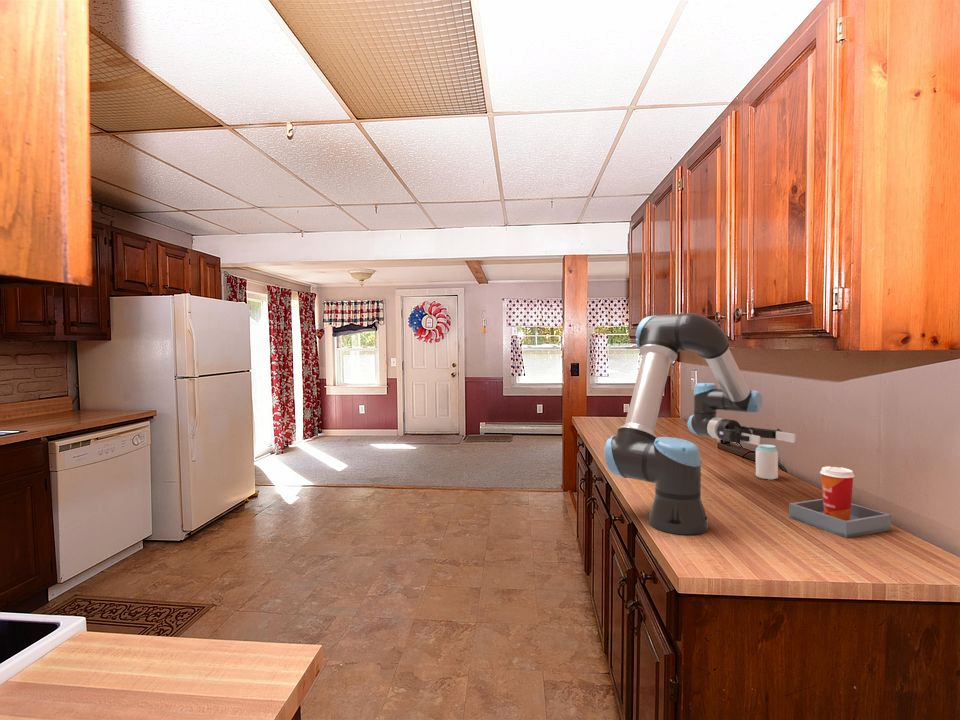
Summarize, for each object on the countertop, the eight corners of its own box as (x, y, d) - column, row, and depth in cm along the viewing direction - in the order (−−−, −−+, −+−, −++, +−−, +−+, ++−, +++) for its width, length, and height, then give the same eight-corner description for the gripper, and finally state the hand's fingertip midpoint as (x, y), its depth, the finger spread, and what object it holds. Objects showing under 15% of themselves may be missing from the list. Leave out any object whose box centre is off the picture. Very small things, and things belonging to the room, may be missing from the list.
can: (771, 481, 175) (771, 448, 175) (751, 477, 181) (751, 445, 181) (782, 478, 179) (781, 446, 178) (762, 474, 185) (762, 443, 184)
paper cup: (818, 513, 139) (818, 464, 139) (852, 518, 135) (852, 467, 135) (821, 522, 132) (821, 471, 132) (856, 527, 129) (856, 474, 128)
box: (846, 538, 124) (846, 522, 124) (789, 517, 139) (789, 503, 139) (891, 529, 128) (891, 514, 128) (831, 510, 144) (831, 497, 144)
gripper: (753, 438, 174) (808, 449, 153) (694, 442, 167) (744, 454, 146) (753, 417, 174) (808, 425, 153) (694, 420, 167) (744, 429, 146)
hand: (777, 439), depth 150 cm, fingers open, 13 cm apart
